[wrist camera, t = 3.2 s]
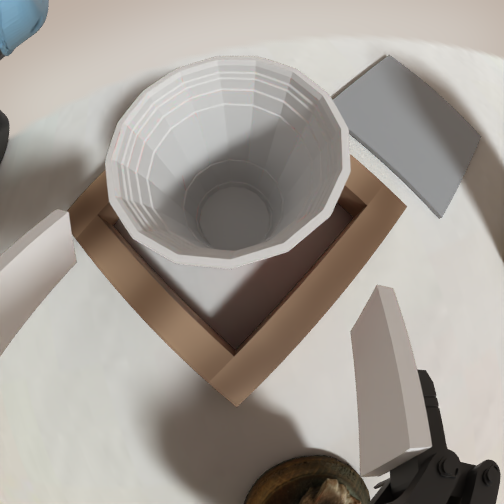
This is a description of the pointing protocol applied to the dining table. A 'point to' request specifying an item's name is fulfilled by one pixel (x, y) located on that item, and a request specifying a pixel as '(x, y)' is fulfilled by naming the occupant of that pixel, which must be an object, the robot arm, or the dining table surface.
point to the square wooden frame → (277, 322)
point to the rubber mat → (410, 130)
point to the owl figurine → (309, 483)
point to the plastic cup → (227, 162)
